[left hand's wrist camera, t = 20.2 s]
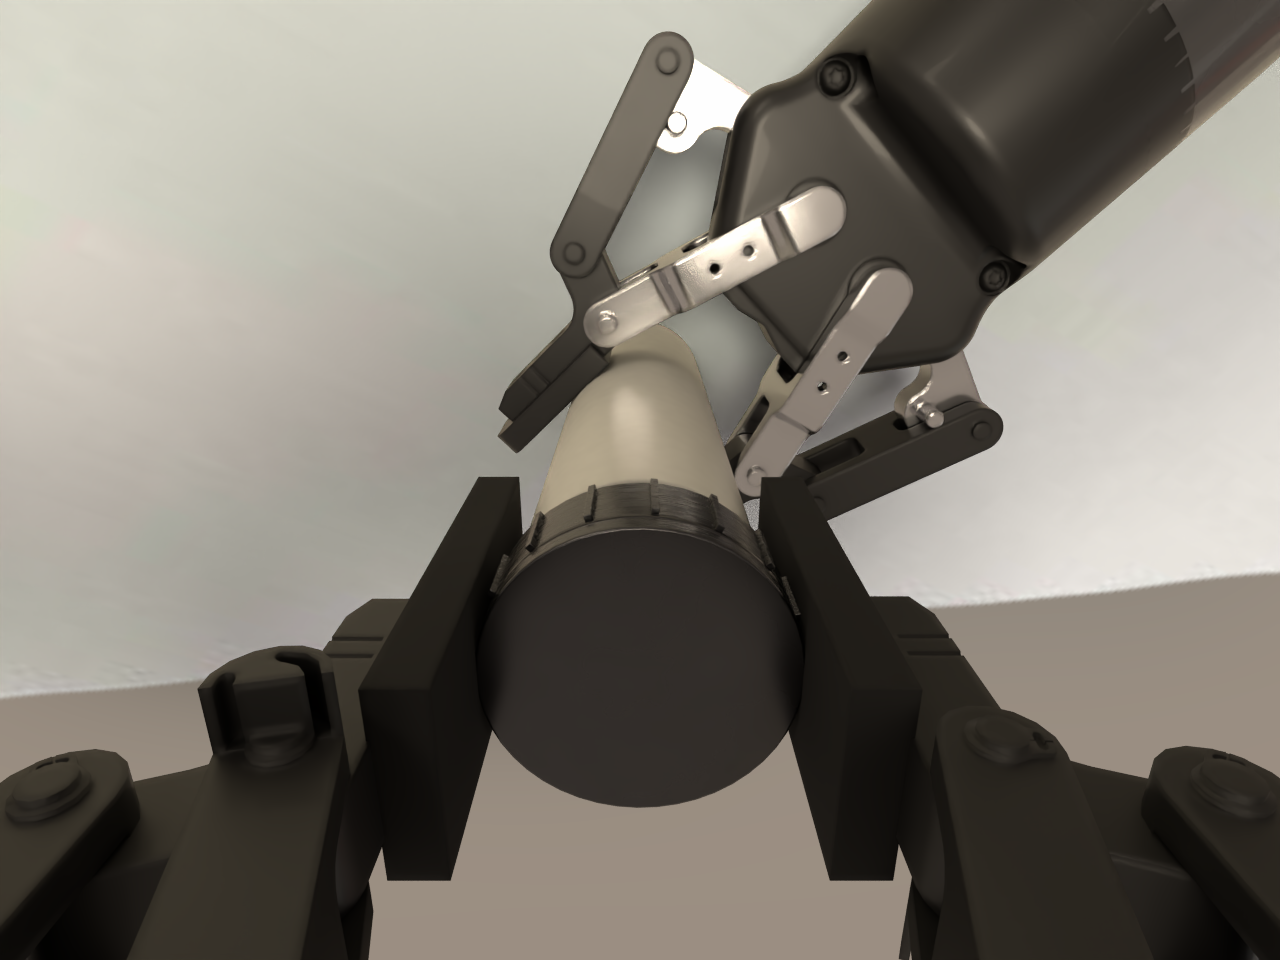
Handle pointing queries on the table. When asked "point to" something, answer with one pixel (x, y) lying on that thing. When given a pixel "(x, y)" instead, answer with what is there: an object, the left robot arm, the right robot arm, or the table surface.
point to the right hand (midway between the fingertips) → (574, 492)
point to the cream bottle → (643, 427)
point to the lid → (640, 647)
